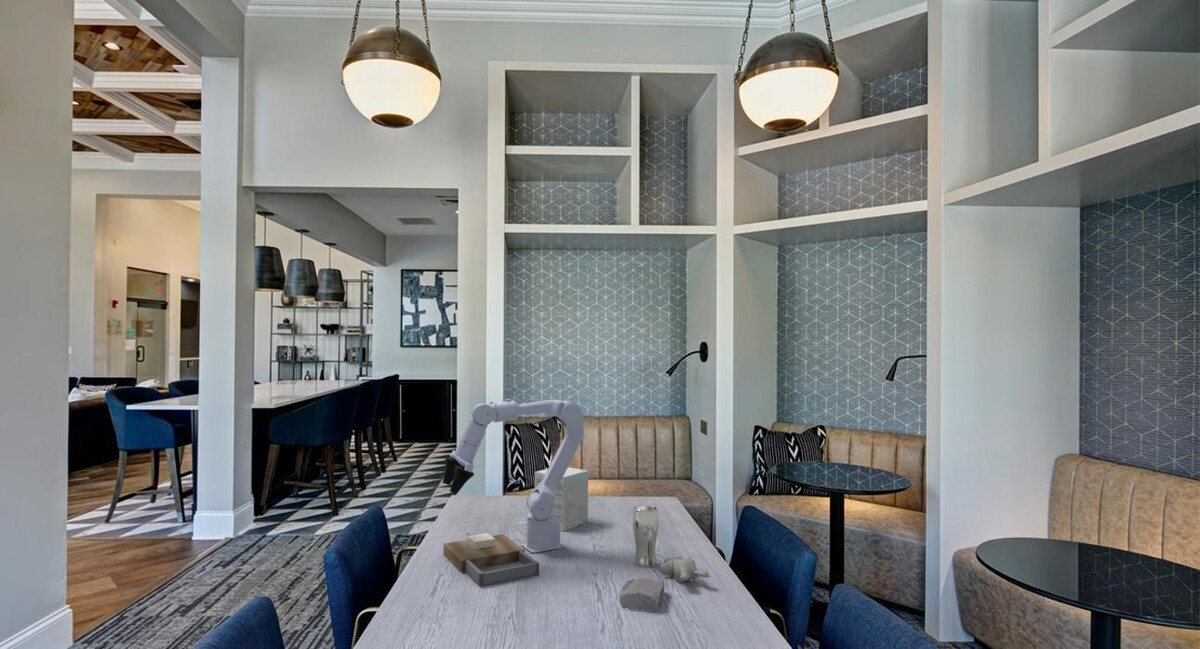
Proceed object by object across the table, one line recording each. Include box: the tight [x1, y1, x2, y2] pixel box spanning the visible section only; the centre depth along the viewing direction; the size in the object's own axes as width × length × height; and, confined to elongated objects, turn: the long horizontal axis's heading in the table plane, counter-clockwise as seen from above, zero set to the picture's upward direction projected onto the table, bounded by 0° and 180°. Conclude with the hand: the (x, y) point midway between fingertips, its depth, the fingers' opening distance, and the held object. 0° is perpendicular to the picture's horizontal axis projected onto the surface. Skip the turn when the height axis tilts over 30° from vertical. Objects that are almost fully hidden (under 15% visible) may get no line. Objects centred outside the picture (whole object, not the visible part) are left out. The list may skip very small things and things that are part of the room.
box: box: [464, 551, 540, 587], centre depth 159 cm, size 16×11×3 cm
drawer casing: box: [442, 534, 526, 573], centre depth 171 cm, size 18×16×3 cm
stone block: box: [619, 577, 665, 612], centre depth 144 cm, size 12×5×10 cm
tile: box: [467, 532, 495, 549], centre depth 173 cm, size 6×6×2 cm
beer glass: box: [632, 504, 659, 568], centre depth 168 cm, size 7×7×15 cm
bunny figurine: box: [660, 556, 711, 583], centre depth 157 cm, size 10×5×15 cm
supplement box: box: [534, 466, 589, 532], centre depth 205 cm, size 13×13×18 cm
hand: (449, 488), depth 174 cm, fingers open, 7 cm apart
